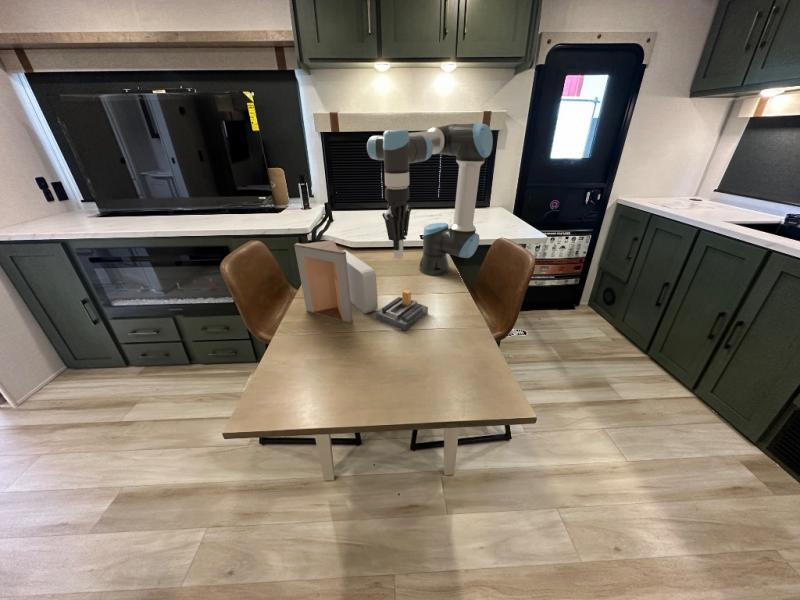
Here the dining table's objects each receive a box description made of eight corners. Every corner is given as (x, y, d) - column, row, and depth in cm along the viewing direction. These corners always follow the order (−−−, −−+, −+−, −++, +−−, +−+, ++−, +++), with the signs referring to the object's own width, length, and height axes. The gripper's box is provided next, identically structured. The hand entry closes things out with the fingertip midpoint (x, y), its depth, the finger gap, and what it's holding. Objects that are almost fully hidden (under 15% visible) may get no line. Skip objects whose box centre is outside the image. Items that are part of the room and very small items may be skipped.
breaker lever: (405, 303, 123) (405, 289, 120) (411, 305, 122) (411, 291, 119) (401, 306, 121) (401, 292, 118) (407, 308, 120) (407, 294, 117)
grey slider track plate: (399, 299, 126) (399, 296, 125) (424, 308, 120) (424, 305, 119) (382, 311, 118) (382, 308, 118) (407, 321, 112) (407, 318, 111)
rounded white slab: (383, 310, 125) (381, 269, 116) (366, 316, 121) (363, 274, 112) (351, 284, 146) (348, 247, 137) (336, 288, 142) (331, 250, 133)
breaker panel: (399, 303, 130) (398, 293, 127) (427, 313, 122) (428, 303, 120) (375, 319, 119) (375, 309, 117) (405, 331, 112) (405, 320, 110)
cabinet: (306, 311, 125) (294, 244, 111) (321, 300, 132) (311, 236, 119) (350, 323, 117) (343, 253, 103) (363, 311, 124) (358, 244, 111)
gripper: (399, 182, 103) (401, 250, 115) (374, 189, 94) (378, 261, 106) (418, 184, 99) (418, 254, 111) (394, 191, 90) (396, 266, 102)
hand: (398, 257), depth 108 cm, fingers closed
